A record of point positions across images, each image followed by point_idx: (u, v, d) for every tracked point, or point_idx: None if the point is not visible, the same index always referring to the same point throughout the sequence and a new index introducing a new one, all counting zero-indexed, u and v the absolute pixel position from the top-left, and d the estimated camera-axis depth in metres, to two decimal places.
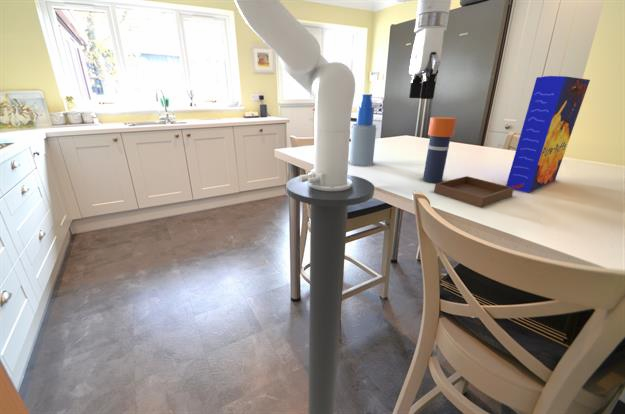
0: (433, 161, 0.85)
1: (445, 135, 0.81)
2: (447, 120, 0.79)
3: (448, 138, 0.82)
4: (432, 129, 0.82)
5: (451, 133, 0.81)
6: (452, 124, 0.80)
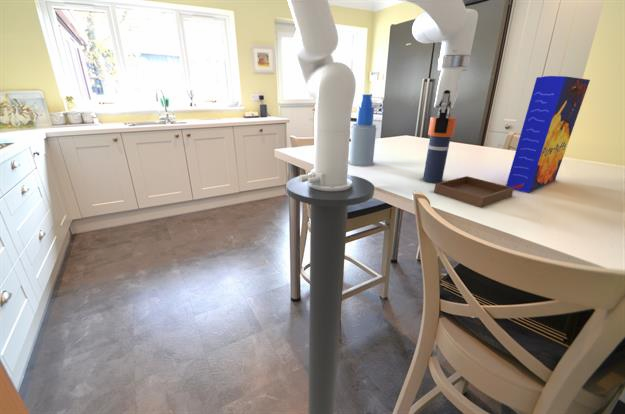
0: (433, 161, 0.85)
1: (445, 135, 0.81)
2: None
3: (448, 138, 0.82)
4: (432, 129, 0.82)
5: (451, 133, 0.81)
6: (452, 124, 0.80)
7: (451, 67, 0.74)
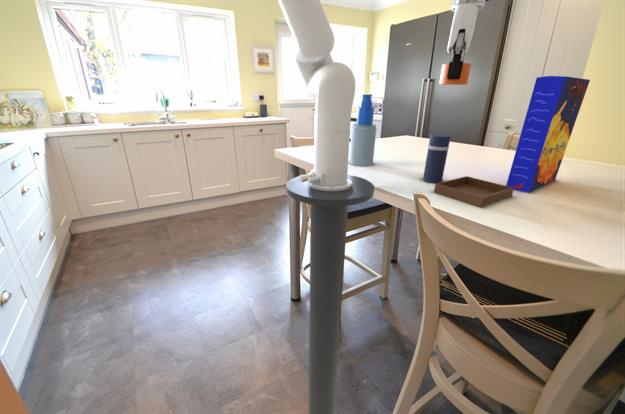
0: (433, 161, 0.85)
1: (459, 82, 0.75)
2: None
3: (448, 138, 0.82)
4: (444, 77, 0.76)
5: (465, 80, 0.75)
6: (466, 69, 0.74)
7: (467, 2, 0.68)
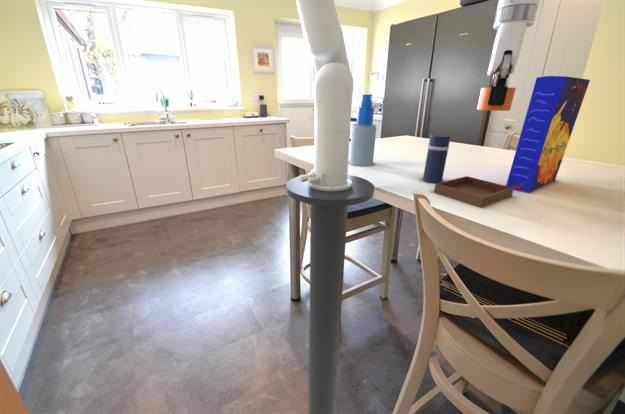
0: (433, 161, 0.85)
1: (501, 108, 0.66)
2: None
3: (448, 138, 0.82)
4: (484, 102, 0.67)
5: (509, 106, 0.66)
6: (511, 94, 0.65)
7: (514, 20, 0.59)
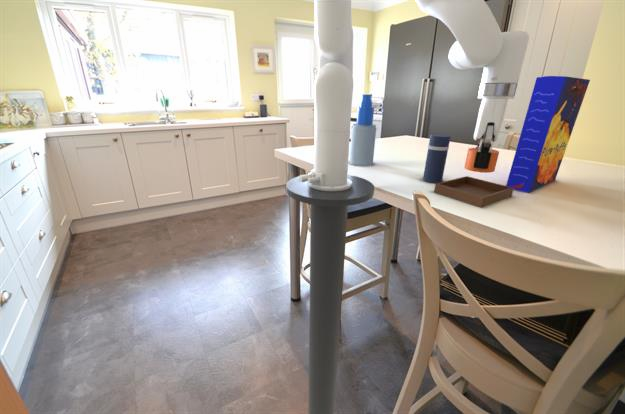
0: (433, 161, 0.85)
1: (486, 170, 0.71)
2: None
3: (448, 138, 0.82)
4: (471, 164, 0.73)
5: (493, 168, 0.72)
6: (494, 158, 0.71)
7: (496, 96, 0.65)
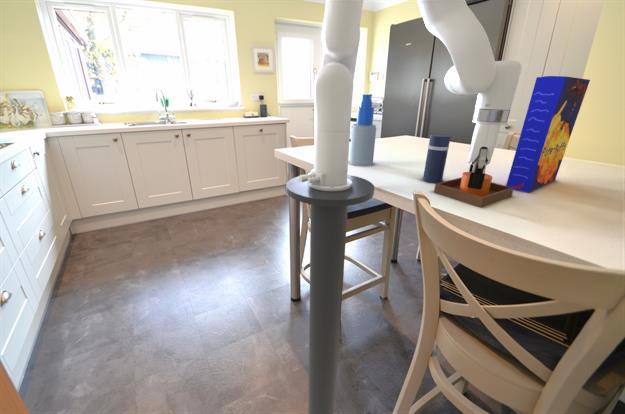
0: (433, 161, 0.85)
1: (480, 195, 0.74)
2: None
3: (448, 138, 0.82)
4: (465, 188, 0.75)
5: (486, 193, 0.74)
6: (488, 183, 0.73)
7: (489, 122, 0.67)
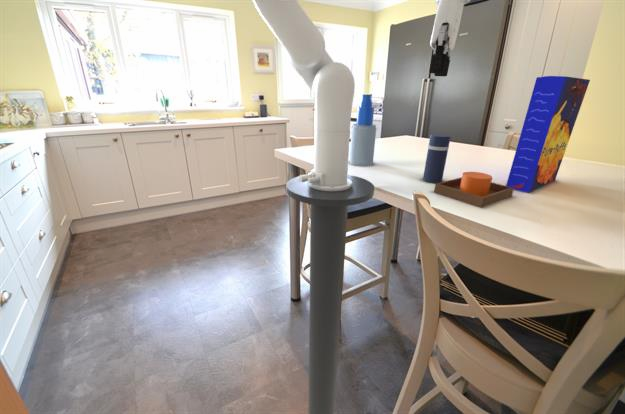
0: (433, 161, 0.85)
1: (480, 195, 0.74)
2: (483, 180, 0.72)
3: (448, 138, 0.82)
4: (465, 188, 0.75)
5: (486, 193, 0.74)
6: (488, 183, 0.73)
7: None
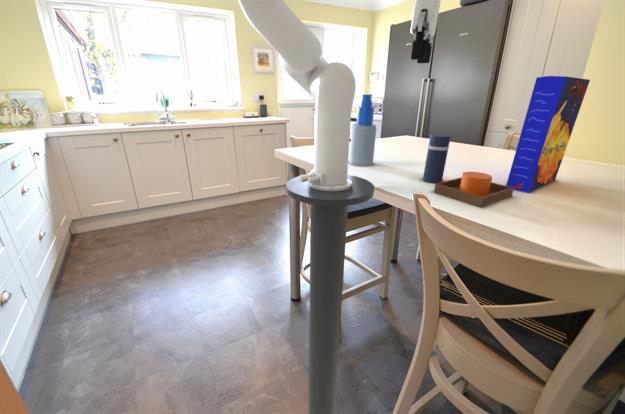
0: (433, 161, 0.85)
1: (480, 195, 0.74)
2: (483, 180, 0.72)
3: (448, 138, 0.82)
4: (465, 188, 0.75)
5: (486, 193, 0.74)
6: (488, 183, 0.73)
7: None
